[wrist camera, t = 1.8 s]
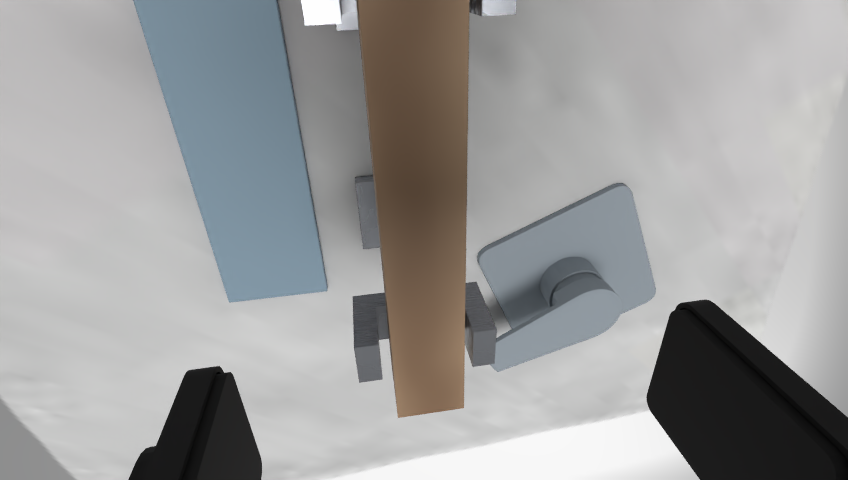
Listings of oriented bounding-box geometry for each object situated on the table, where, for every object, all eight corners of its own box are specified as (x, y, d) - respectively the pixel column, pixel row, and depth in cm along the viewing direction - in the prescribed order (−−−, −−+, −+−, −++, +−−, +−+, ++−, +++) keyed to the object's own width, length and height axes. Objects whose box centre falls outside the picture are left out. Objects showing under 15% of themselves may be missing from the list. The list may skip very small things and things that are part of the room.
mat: (247, -170, 21) (245, -173, 21) (327, 286, 34) (327, 290, 34) (85, -168, 20) (78, -172, 20) (231, 297, 34) (229, 302, 33)
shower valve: (456, 308, 31) (666, 208, 29) (441, 264, 35) (622, 175, 34) (516, 410, 37) (692, 332, 36) (497, 361, 42) (651, 290, 40)
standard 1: (436, 169, 31) (498, 301, 19) (438, 233, 34) (493, 387, 21) (347, 178, 30) (349, 319, 18) (355, 242, 33) (362, 406, 20)
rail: (446, -144, 13) (471, -173, 11) (450, 360, 23) (463, 407, 21) (342, -143, 13) (341, -172, 10) (392, 368, 23) (398, 417, 20)
